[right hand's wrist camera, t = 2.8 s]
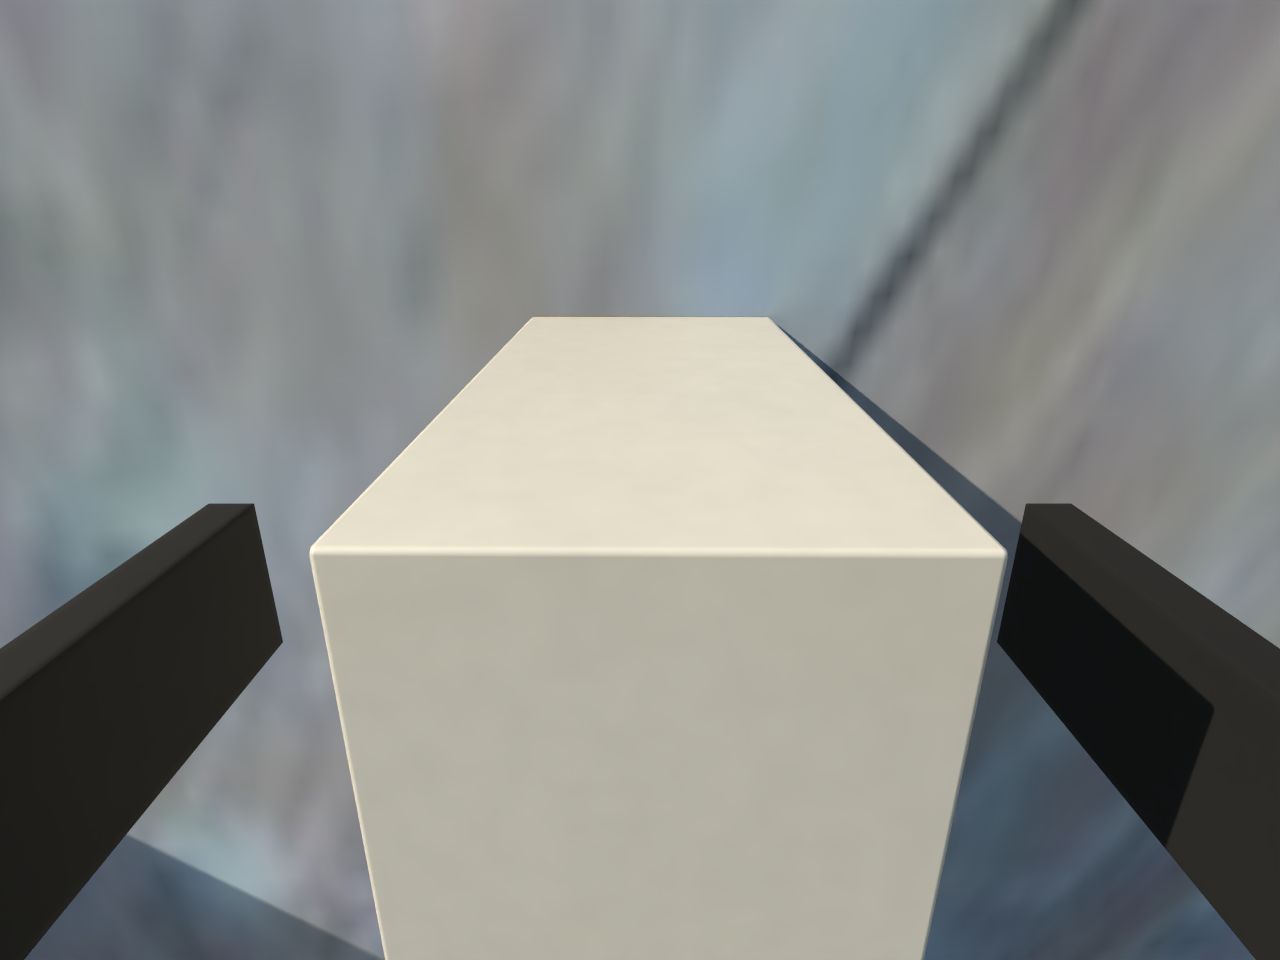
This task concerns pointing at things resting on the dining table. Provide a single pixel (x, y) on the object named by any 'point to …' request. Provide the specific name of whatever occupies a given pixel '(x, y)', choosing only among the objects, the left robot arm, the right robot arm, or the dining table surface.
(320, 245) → the dining table surface
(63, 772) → the right robot arm
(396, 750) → the box
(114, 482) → the dining table surface
